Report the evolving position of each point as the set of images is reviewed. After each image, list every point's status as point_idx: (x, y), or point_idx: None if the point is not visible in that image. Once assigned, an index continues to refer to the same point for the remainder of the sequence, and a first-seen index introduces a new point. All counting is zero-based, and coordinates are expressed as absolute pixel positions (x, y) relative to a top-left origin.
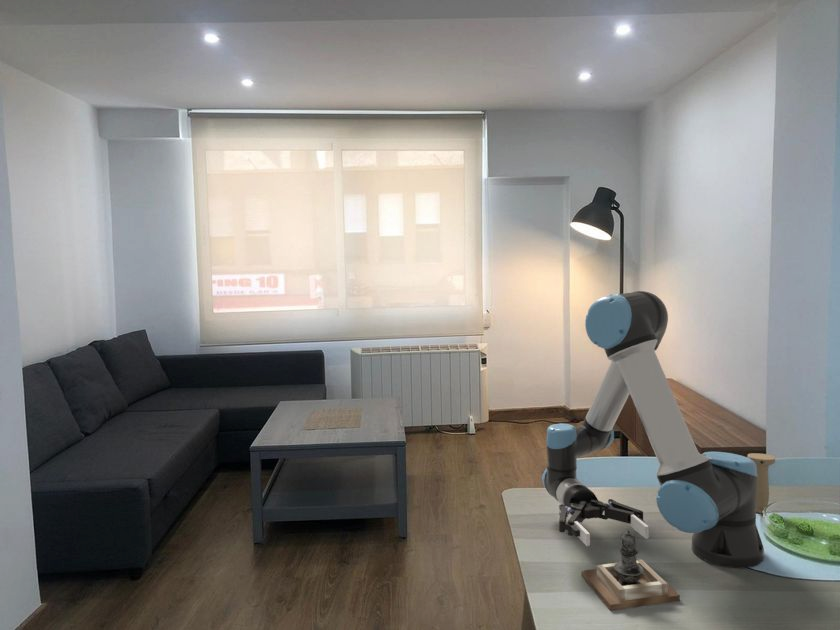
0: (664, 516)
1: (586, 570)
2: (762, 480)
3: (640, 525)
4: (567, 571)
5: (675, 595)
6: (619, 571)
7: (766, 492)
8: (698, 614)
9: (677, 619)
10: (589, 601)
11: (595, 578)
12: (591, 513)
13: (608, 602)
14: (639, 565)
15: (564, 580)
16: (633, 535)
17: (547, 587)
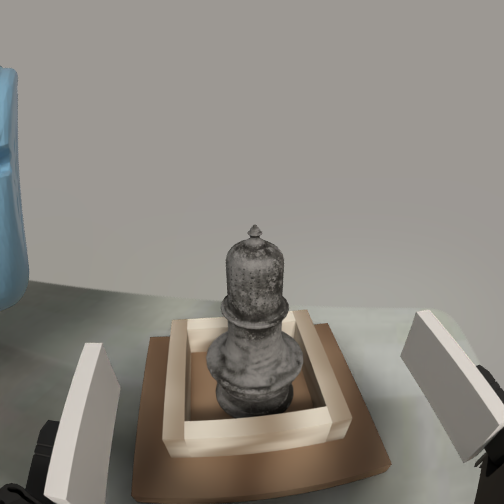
0: (25, 266)
1: (374, 468)
2: None
3: (96, 396)
4: (427, 493)
5: (160, 338)
6: (292, 340)
7: None
8: (151, 311)
9: (199, 305)
10: (369, 361)
11: (350, 424)
12: None
13: (330, 330)
14: (211, 362)
15: (434, 443)
16: (235, 244)
17: None
